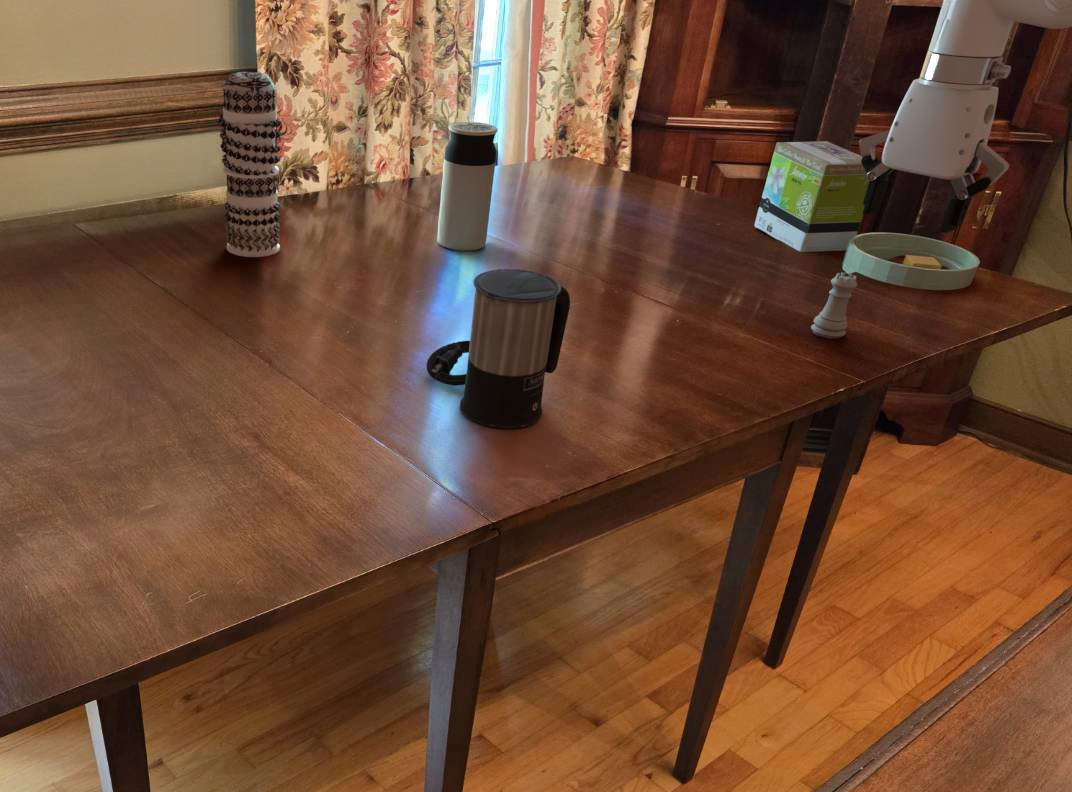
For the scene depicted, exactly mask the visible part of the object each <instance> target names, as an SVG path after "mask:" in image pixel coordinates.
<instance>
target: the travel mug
mask: <svg viewBox="0 0 1072 792" xmlns="http://www.w3.org/2000/svg"><path fill="white" fill-rule="evenodd" d="M448 130H449V133H450V134H449V135H450V139H449V140H448V142H447V144H446V146H445V148H444V159H443V169H442V181H441V191H440V203H439V215H438V225H437V226H438V227H437V237H436V242H437V243H438V244H439V245H441V246H442V247H444V248H446V249H448V250H452V251H461V252H462V251H463V252H470V251H477V250H480V249H482V248H484V247H485V246H487V245H486V244H487V239H488V228H489V220H490V211H491V202H492V194H493V186H494V180H495V179H494V178H495V168H496V161H497V154H498V153H497V148H496V144H495V143H494V140H495V136H496V134H497V133H498V128H497V127H496V126H495V125H492V124H489V123H485V122H477V121H457V122H452V123H449V125H448Z"/></svg>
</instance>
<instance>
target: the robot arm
mask: <svg viewBox="0 0 1072 792" xmlns="http://www.w3.org/2000/svg"><path fill="white" fill-rule="evenodd" d="M1014 23H1021V24H1026V25H1030V26H1035V27H1040V28H1045V29H1051V30H1052V29H1053V30H1059V29H1067V28H1071V27H1072V0H943V2H942V5H941V9H940V11H939V15H938V17H937V21H936V24H935V27H934V31H933V34H932V37H931V40H930V43H929V46H928V50H927V52H926V55H925V59H924V62H923V65H922V69H921V71H920V75H919V78H916V79H913V80H912V82H911V84H910V86H909V87H908V90H907V91H906V93H905V95H904V97H903V99H902V101H901V103H900V105H899V108H898V110H897V112H896V114H895V117H894V119H893V122H892V124H891V126H890V129H887V130H885V131H882V132H879V133H876V134H872V135H870V136H866V137H864V138H861V139H860V140H859V142H858V145H859V151H860V152H859V153H860V156H862V160H861V163H862V165H863V167H864V169H865V171H866V173H867V179H868V180H869V185H868V188H867V191H866V194H865V198H864V201H863V205H865V207H864V210H863V215H868V216H869V215H871V214H874V213H877V212H880V211H881V208H882V205H883V202H884V198H885V195H886V193H887V190H888V186H889V183H890V181H889V178H887V176H888V175H889V174H891V173H892V172H893V171H894V170H897V171H900V172H906V173H911V174H915V175H919V176H926V177H931V178H936V179H941V180H942V179H943V180H949V181H950V183H951V185H952V188H953V190H954V193H955V197H953V198H951V199H950V200H949V201H948V204H947V208H946V210H945V213H944V216H943V219H942V222H941V225H940V227H939V231H940V233H944V234H946V233H949V232H952V231H955V230H956V229H957V228H958V227H959V226H961V225H962V224H963V222H964V219H965V217H966V214H967V211H968V209H969V206H970V203H971V200H972V198H973V197H975V196H977V195H979V194H980V193H982V192H984V191H985V190H987V189H988V188H990V187H992V186H993V185H994V184H995V183H996V182H997V181H998V180H999V179H1000V178H1001V177H1002V176H1003V175H1004V174H1005V173H1006V172H1007V171H1008V170H1009V168H1010V164H1009V163H1008V162H1007V160H1005V158H1003V157H1002V156H1001V155H999V154H998V153H997V152H996V151H995V150H994V149H993V148H991V147H990V146H989V145H988V141H989V138H990V134H991V132H992V127H993V122H994V119H995V114H996V109H997V104H998V98H999V87H997V86H993V83H995V82H996V80H999V79H1007V78H1008V77H1009V76H1010V74H1011V70H1012V66H1011V65H1006V64H1005V63H1003V60H1004V56H1003V54H1004V51H1005V48H1006V46H1007V42H1008V40H1009V38H1010V34H1011V32H1012V29H1013V27H1014ZM881 144H884V146H883V150H882V155H881V161H880V160H879V157H878V156H877V154H876V147H877V146H878V145H881ZM982 163H983V165H984V166H986V167H987V172H986V173H985V174H984V175H983V176H982V177H981V178H979V179H978V180H975V178H974V175H973V174H975V173H976V172H978V170H979V168H980V166H981V164H982Z"/></svg>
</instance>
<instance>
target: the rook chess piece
mask: <svg viewBox="0 0 1072 792" xmlns="http://www.w3.org/2000/svg"><path fill="white" fill-rule="evenodd" d="M846 274H847V273H846V272H837V273H836V274H835V277H833V278H832V279H830V284H831V285H832V288H831V289H830V290H829V292H828V294H829V296H828V299H827V301H826V304H825V305H824V308H823V309H822V310H821V311H820V312H819V314H818V315H816V316H815V317H814V319H813V323H814V324H812V325H811V326H810V329H811V331H812V333H813V334H814V335H816V336H818V337H821V338H825V339H833V340H834V339H835V340H836V339H840V338H843V337H844V336H845V335H846V333H847V332H846V329H847V328H848V324H849V323H848V321H847V316H846V315H847V308H848V303H849V300H850V298H852V291H853V290H854V289H856V288H857V287H858V282H857V276H856V275H854V274H853V273H850V274H847V276H846Z"/></svg>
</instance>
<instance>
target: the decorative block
mask: <svg viewBox="0 0 1072 792" xmlns="http://www.w3.org/2000/svg"><path fill="white" fill-rule="evenodd" d="M902 265H907V266H912V267H919V268H926V269H940V270H942V268H943V266H942V265H941V264H940V263H939V262H938V261H937V260H936V259H935V258H934V257H924V256H913V255H906V256H904V260H903V262H902Z"/></svg>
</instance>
